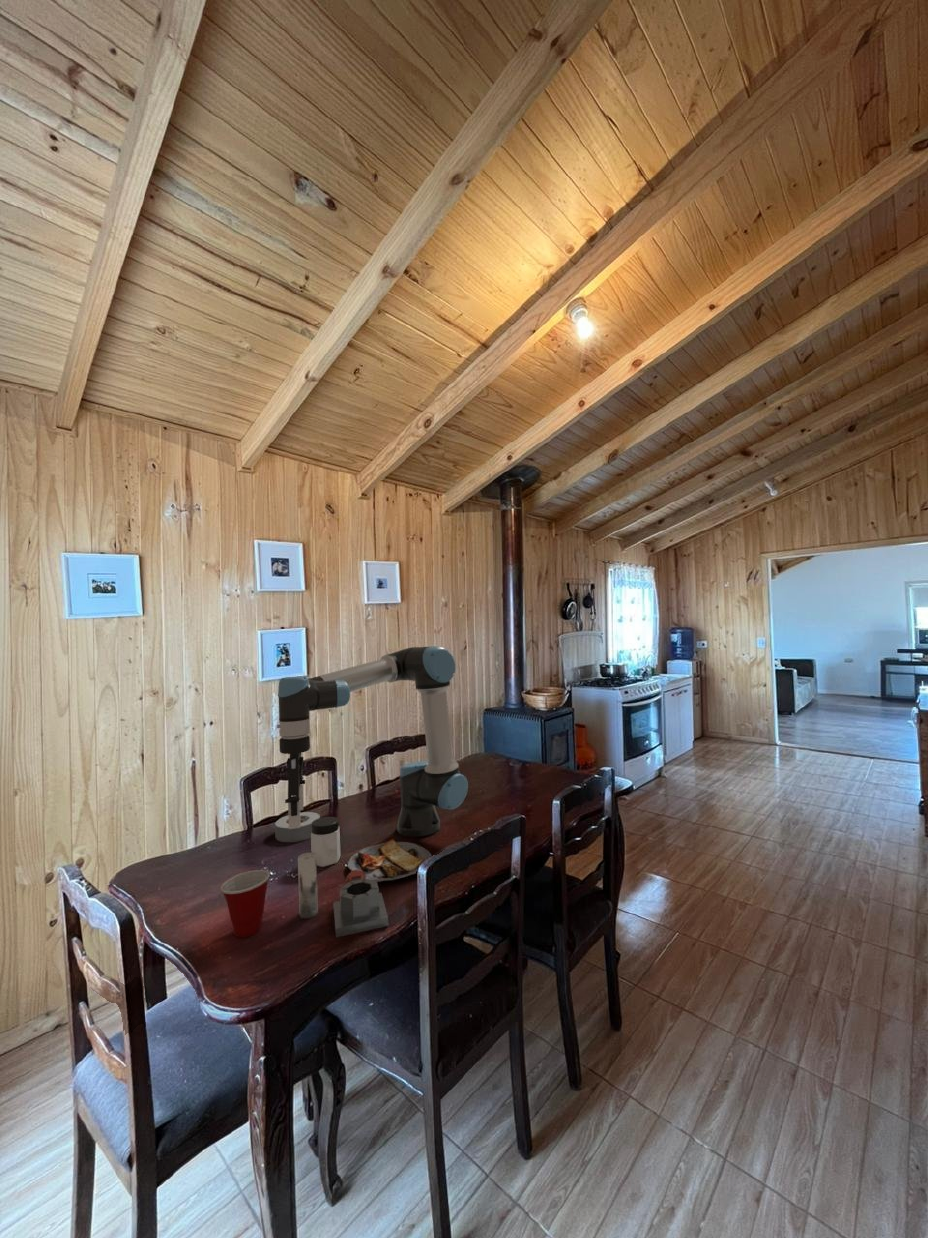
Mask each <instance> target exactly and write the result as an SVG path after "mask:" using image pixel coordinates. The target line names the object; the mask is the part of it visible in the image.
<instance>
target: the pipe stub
mask: <svg viewBox="0 0 928 1238" xmlns="http://www.w3.org/2000/svg"><path fill="white" fill-rule="evenodd" d="M317 868H318V866H317V865H316V854H315V853H312V852H311V851H310V852H305V853H302V854H300V855H298V856H297V873H298V874H297V875H298V877H297V878H298V903H299V904H298V907H299V909H298V910H299V913H298V914H299V917H300V918H301V919H310V918H312V917H315V916H316V915H318V912H319V908H318V907H319V905H318V903H319V901H318V900H319V899H318V875H317V873H318V872H317V870H318V869H317Z"/></svg>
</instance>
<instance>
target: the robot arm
mask: <svg viewBox="0 0 928 1238" xmlns="http://www.w3.org/2000/svg"><path fill="white" fill-rule="evenodd" d="M455 673H456V661H455V659H454V656H453V655H452V653H451V652H450V651H449V650H448V649H447V648H444V647H443V646H412V647H407V648H404V649H400V650H398V651H394V652H391V653H388V654H384V655H383V656H381V658H379V659H378V660H374V661H369V662H365V663H362V664H359V665H355V666H351V667H348V668H344V669H340V670H337V671H332V672H328V673H326V674H320V675H317V676H314V677H309V678H308V677H307V676H301V675H300V676H287V677H281V678H280V679H279V681H278V688H277V689H278V691H277V692H278V693H277V697H278V722H279V723H278V724H277V725H276V728H277V729H279V736H280V739H279V740H278V741H279V742H278V743H279V752H280V754H282V755H286V754H287V755H289V757H288V758H287V760H286V767H287V771H286V772H287V773H286V774H287V777H288V778H287V799H284V802H285V804H288V807H287V809H288V810H287V812H288V814H287V815H288V816H289V829H295V828H300V827H301V823H300V813H301V811H304V785H306V780H305V779H304V777H303V769H304V756H302V753H305V752H308V751H309V750H310V748H311V737H310V735H309V734H310V733H311V729H310V728H311V727H310V725H311V724H310V722H311V721H310V720H311V719H310V712H314V711H318V710H327V709H337V708H340V707H344V706H346V705H347V704H348V703H349V701H350V699H351V698H350V697H351V693H352V692H354V691H355V692H356V691H358V690H361V689H364V688H368V687H371V686H374V685H377V684H380V683H384V682H387V683H390V684H391V683H394V682H397V681H398V682H399V681H412V682H414V684H415V689H416V690H417V692H419V693H420V696H421V697H420V698H421V708H422V715H423V716H422V717H423V726H424V727H423V728H424V735H425V736H424V737H425V744H426V752H427V753H426V754H427V760H421V761H414V762H409V763H406V764H404V765H403V766H401V767H400V770H399V771H400V773H399V783H400V802H401V810H400V812H399V817H398V820H397V824H396V825H397V827H396V828H397V832H398V834H399V835H401V836H404V837H408V838H410V837H411V838H418V837H426V836H430V835H432V834H435V833H437V832H438V831H439V830H440V828H441V820H440V817H439V814H438V812H437V809H436V807H438V808H440V809H446V810H454V809H457V808H459V806H461V805H462V804H463V802H464V800H465V798H466V797H467V793H468V790H469V783H468V780H467V777H466V776H465V775H463V773H462V774H461V773H460V767H459V766H460V765H459V762H457V761H456V760H454V753H453V751H454V750H453V743H452V742H453V741H452V732H451V723H450V714H449V705H448V695H447V690H448V689H449V687H450V686H451V680H452V679H453V677H454V675H455Z"/></svg>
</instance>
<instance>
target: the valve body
mask: <svg viewBox="0 0 928 1238" xmlns="http://www.w3.org/2000/svg"><path fill="white" fill-rule="evenodd" d="M345 879H346V880H345V883H346V884H344V885H342V886H341V887H340V888H339V900H338V901H333V903H332V904H333V918H334V919H333V920H334V929H335V938H340V937H344V936H349V935H353V934H359V933H363V932H367V931H372V930H377V929H381V928H385V927H389V916H388V913H387V911H388V910H387V908H386V905H385V901H384V898H383V894H382V892H380V889H379V885H378V882H377V881H373V880H369V879H366V877H365V874H364V872H363V871H361V870H353V871H351V870H350V872H349V873H348V875H347V876H346V878H345Z"/></svg>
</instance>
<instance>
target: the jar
mask: <svg viewBox="0 0 928 1238" xmlns="http://www.w3.org/2000/svg"><path fill="white" fill-rule="evenodd" d="M340 833H341V831H340V822H339V818H338V817H336V816H323V817H320V818H319V819H316V820H314V821H313V822H312V833H311V838H310V845H311V846H310V849H311V851H310V852H312V853H315V854H316V867H322V868H325V867H327V866H331V865H333V864H338V862H339V860H340V857H341V856H342V855H341V835H340Z"/></svg>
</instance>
